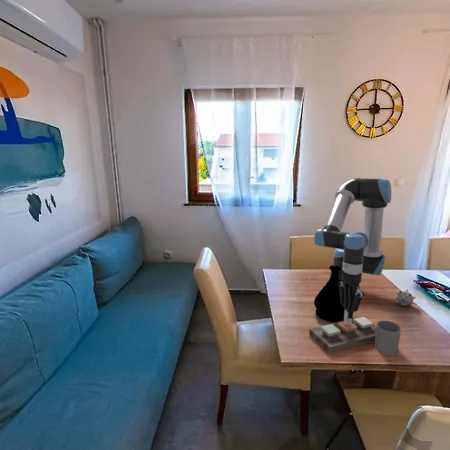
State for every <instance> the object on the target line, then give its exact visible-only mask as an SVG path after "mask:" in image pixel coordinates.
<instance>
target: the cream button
mask: <svg viewBox="0 0 450 450" xmlns="http://www.w3.org/2000/svg"><path fill="white" fill-rule="evenodd" d="M359 317H360V318H358V317H355V318H356V319H354V320H353V322H355V325H356V326H357V327H358V328H359V329H360V330H362V331H364V330H368V329H371V326H373V325H374V322H373V321H371V320H370V319H368V318H366V317H365V316H359Z"/></svg>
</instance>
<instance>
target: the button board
mask: <svg viewBox="0 0 450 450" xmlns="http://www.w3.org/2000/svg"><path fill="white" fill-rule="evenodd" d="M360 317H361V316H359V317H353V318H352V321H351V323H353V324H354V325H355V322H353V320H354V319H356V318H360ZM340 322H343V321H340ZM338 323H339V322H336V323H333V322H331V323H329V324H324V325H319V326H315V327H314V326H313V327H311V328H309V329H308V330H309V331H308V335H309V336H310V338H312V339H313V340H314V339H315V340H314V341H315V342H316V343H317V342H318V343H317V344H318V345H319V346H321V347H322V349H324V350H325V351H326V352H327V353H328V354H330V355H331V354H334V353H338V352H341V351H342V352H343V351H345V350H348V349H354V348H356V347H360V346H364V345H368V344H372V343H375V337H376V328H377V325H374V324H373V326H371V329H368V330H364V331H362V330H360V329H359V328H358V327H357V330H355V333H352V334H348V335H346V334H344V333H343V332H342V331H341V334H338V337H336V338H332V339H328V338H327V337H326V336H325V335H324V334H323V331H322V330H321V327H322V326H326V325H330V324H333V325H334V326H335V327H336V328H338V329H339V326H338Z"/></svg>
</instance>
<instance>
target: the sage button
mask: <svg viewBox="0 0 450 450" xmlns="http://www.w3.org/2000/svg"><path fill="white" fill-rule="evenodd" d="M329 324H330V325H327V324H325V325H326V326H323V325H321V326H322V327H321V330H322V331H323V334H324V335H325V336H326V337H327V338H328V339H332V338H336V337H338V334H341V331H340V330H339V329H338V328H336V327H335V326H334V325H333V324H332V323H329Z"/></svg>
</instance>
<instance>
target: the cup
mask: <svg viewBox="0 0 450 450" xmlns="http://www.w3.org/2000/svg"><path fill="white" fill-rule="evenodd" d="M376 327H377V328H376V337H375V342H374V348H375V349H376V350H377V351H378V352H380V353H382V354H385V355H387V356H389V355H391V356H392V355H393V356H394V355H397V353H398V352H399V345H400V338H401V331H402V330H401V326H400V325H399V324H398V323H395V322H393V321H389V320H378V321H377V322H376Z"/></svg>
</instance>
